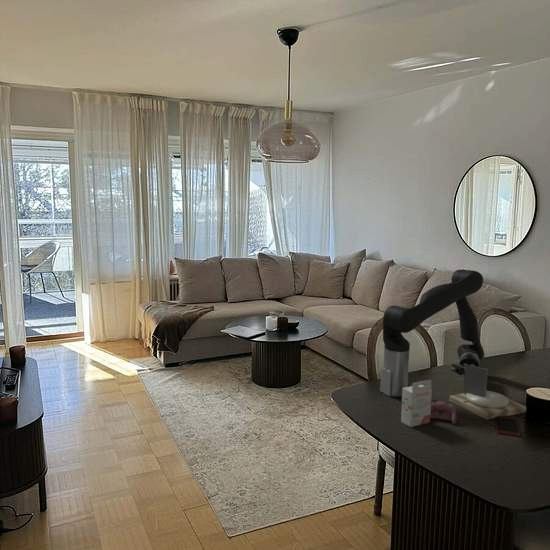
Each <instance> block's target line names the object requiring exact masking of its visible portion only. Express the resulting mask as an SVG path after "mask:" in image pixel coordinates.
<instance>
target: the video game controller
mask: <svg viewBox="0 0 550 550" xmlns="http://www.w3.org/2000/svg"><path fill="white" fill-rule="evenodd" d="M439 411H441V412H443V413H442V415H441V417H442V419H443V420H444V421H448V420H449V419H450V418H451V423H452V424H453V425H455V424H457V408H456V407H455V406H454V404H453V405H452V404H451V403H448V402H447V401H440V400H439V401H431V414H430V415H431V417H433V419H439V418H440V412H439Z"/></svg>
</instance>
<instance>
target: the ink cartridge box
mask: <svg viewBox="0 0 550 550" xmlns="http://www.w3.org/2000/svg"><path fill="white" fill-rule="evenodd" d="M432 391H433V389H432V380H431V379H428V380H421V381H416V382H412V383H411V385H410V386H407V387H405V388H402V396H401V414H400V415H401V416H400V422H401V423H402V424H404V425H406V426H408V427H410V428H413V427H417V426H422V425H425V424H429V423H430V422H431V415H432V414H431V402H432V395H433V394H432V393H433V392H432Z"/></svg>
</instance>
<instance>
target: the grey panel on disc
mask: <svg viewBox="0 0 550 550" xmlns="http://www.w3.org/2000/svg"><path fill="white" fill-rule="evenodd" d="M485 368H486V367H476V366H471V365H465V378H464V383H463V393H467V394H466V398H467V400H468V401H470V402H471V403H474V404H476V405H479V406H484V407H490V408H502V407H506V406H508V404H509V400H510V398H508V397H507V396H505V395H503V394H501V393H499V392H495V391H491V390H488V391H486V390H487V387H488V374H489V369H488V368H486V369H485Z"/></svg>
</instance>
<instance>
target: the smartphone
mask: <svg viewBox="0 0 550 550" xmlns="http://www.w3.org/2000/svg"><path fill="white" fill-rule="evenodd" d="M493 420H494V425H495V431H496V434H497V435H502V436H508V437H515V438H516V437H517V438H522V434H521V430H520V427H519V422H518V420H517V417H512V416H497V417H494V419H493Z"/></svg>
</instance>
